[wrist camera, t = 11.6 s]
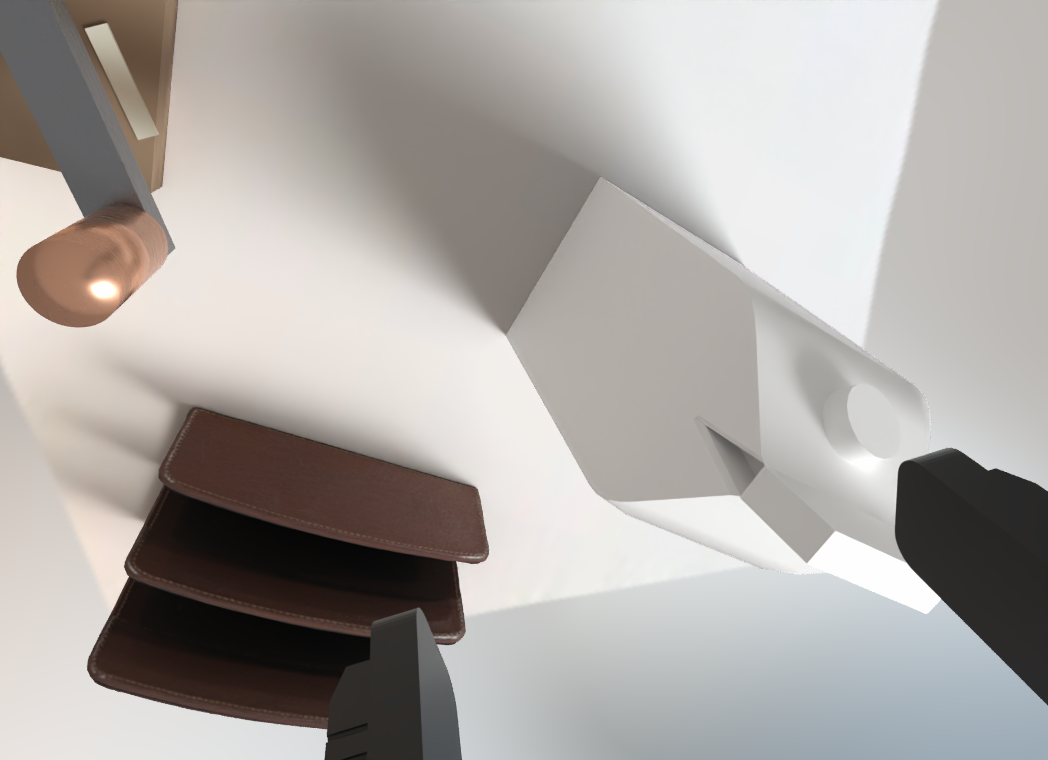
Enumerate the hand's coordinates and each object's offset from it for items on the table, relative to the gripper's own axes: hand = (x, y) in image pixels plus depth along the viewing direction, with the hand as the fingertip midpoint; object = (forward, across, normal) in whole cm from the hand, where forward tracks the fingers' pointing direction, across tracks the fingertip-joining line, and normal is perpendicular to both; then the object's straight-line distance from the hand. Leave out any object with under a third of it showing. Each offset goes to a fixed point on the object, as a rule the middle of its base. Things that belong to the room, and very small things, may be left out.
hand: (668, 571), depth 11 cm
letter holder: (+32, +15, +18) cm, 40 cm away
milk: (+32, -8, +10) cm, 35 cm away
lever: (+25, +15, -10) cm, 31 cm away
